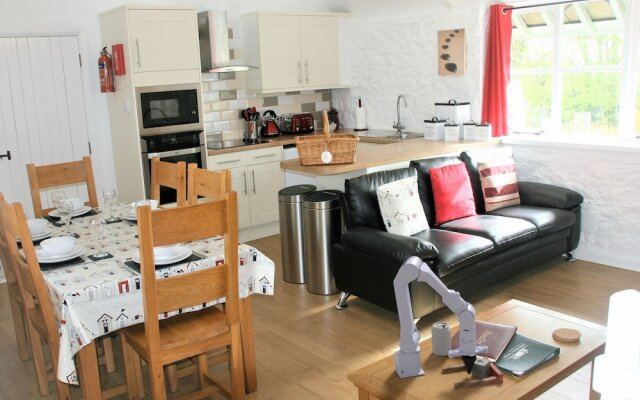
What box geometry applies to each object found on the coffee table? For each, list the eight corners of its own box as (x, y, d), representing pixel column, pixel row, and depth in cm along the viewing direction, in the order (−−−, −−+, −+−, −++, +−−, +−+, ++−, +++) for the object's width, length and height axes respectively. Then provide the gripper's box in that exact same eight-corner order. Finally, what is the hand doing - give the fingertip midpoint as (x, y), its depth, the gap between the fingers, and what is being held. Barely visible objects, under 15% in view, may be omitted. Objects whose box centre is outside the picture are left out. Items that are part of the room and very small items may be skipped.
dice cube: (478, 369, 228) (477, 357, 227) (490, 373, 224) (490, 360, 223) (471, 375, 224) (471, 362, 223) (484, 378, 221) (484, 366, 220)
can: (451, 357, 239) (450, 328, 236) (432, 357, 240) (430, 328, 238) (451, 348, 246) (450, 320, 244) (432, 348, 248) (431, 320, 245)
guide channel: (456, 389, 215) (455, 381, 215) (442, 370, 229) (441, 363, 228) (503, 381, 218) (502, 373, 217) (486, 363, 231) (486, 356, 231)
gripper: (452, 345, 215) (453, 381, 218) (491, 340, 217) (492, 375, 220) (445, 337, 222) (446, 372, 225) (483, 332, 224) (484, 366, 227)
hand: (468, 373), depth 223 cm, fingers closed
